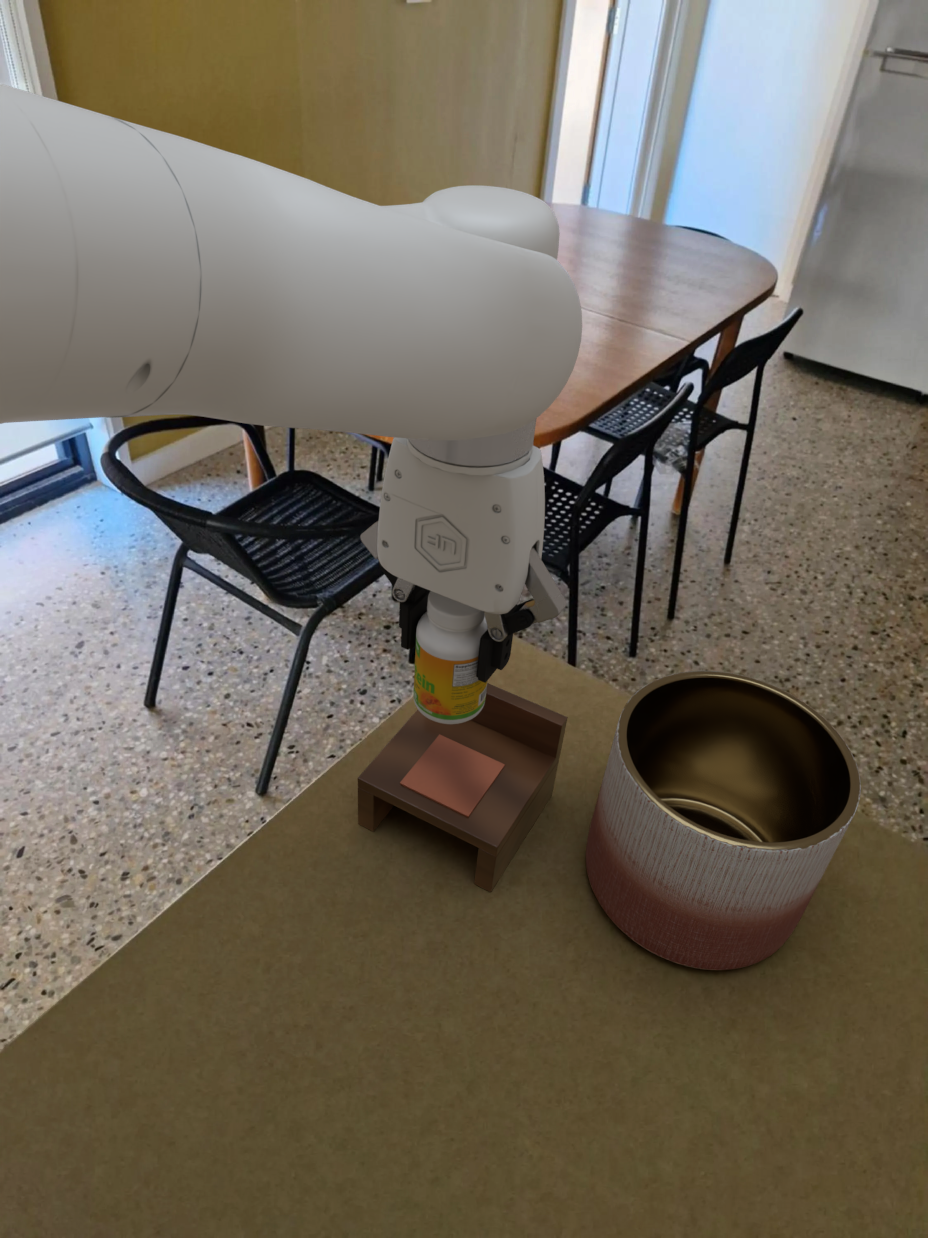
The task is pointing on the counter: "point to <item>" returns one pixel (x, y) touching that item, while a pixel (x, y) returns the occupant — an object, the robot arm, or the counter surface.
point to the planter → (717, 817)
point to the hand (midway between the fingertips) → (453, 652)
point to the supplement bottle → (448, 661)
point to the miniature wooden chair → (470, 776)
